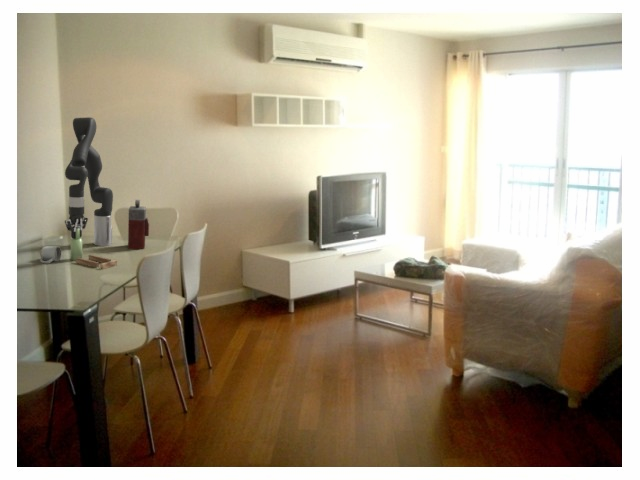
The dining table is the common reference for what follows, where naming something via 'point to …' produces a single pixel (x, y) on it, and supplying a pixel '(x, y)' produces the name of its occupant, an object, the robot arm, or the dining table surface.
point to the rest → (105, 262)
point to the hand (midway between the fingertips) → (76, 237)
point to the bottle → (76, 245)
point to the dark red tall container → (137, 226)
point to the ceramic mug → (50, 254)
